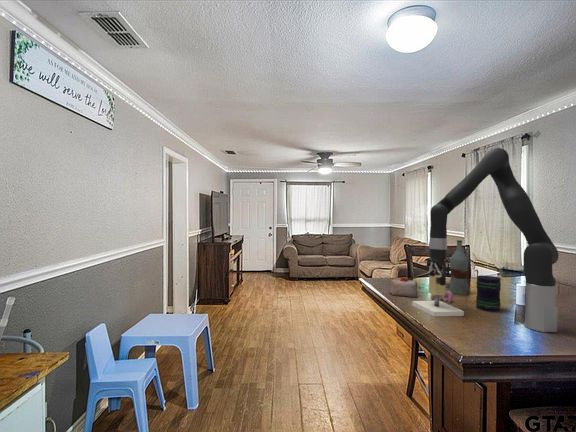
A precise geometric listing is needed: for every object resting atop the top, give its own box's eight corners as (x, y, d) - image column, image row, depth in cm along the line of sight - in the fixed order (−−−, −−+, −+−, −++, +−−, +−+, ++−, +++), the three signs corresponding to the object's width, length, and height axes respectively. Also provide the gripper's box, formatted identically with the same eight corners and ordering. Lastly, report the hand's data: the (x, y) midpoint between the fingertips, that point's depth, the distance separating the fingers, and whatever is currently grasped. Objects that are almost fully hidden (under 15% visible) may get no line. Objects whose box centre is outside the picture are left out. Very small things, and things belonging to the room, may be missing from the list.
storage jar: (504, 312, 150) (504, 279, 150) (480, 311, 152) (480, 278, 152) (495, 307, 159) (495, 276, 159) (472, 305, 161) (473, 274, 161)
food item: (390, 295, 179) (390, 277, 179) (391, 292, 186) (391, 275, 186) (417, 298, 174) (417, 279, 174) (417, 295, 182) (417, 277, 182)
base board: (463, 315, 144) (463, 311, 144) (433, 316, 142) (433, 311, 142) (439, 304, 162) (439, 300, 162) (412, 305, 160) (412, 301, 160)
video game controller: (452, 305, 167) (454, 292, 170) (450, 302, 164) (452, 289, 167) (432, 301, 174) (434, 288, 176) (429, 299, 171) (432, 286, 173)
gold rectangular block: (445, 295, 150) (445, 277, 150) (435, 295, 149) (435, 277, 149) (438, 292, 155) (439, 275, 155) (428, 292, 154) (429, 275, 154)
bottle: (450, 294, 184) (451, 240, 184) (447, 291, 193) (448, 239, 193) (469, 296, 181) (470, 241, 182) (465, 292, 190) (466, 240, 190)
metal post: (440, 306, 151) (440, 291, 151) (436, 306, 151) (436, 291, 151) (437, 305, 153) (437, 290, 153) (433, 305, 153) (433, 290, 153)
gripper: (455, 249, 145) (454, 286, 145) (436, 246, 160) (435, 280, 160) (439, 249, 144) (438, 286, 144) (421, 246, 158) (421, 280, 159)
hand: (437, 283), depth 152 cm, fingers open, 8 cm apart
